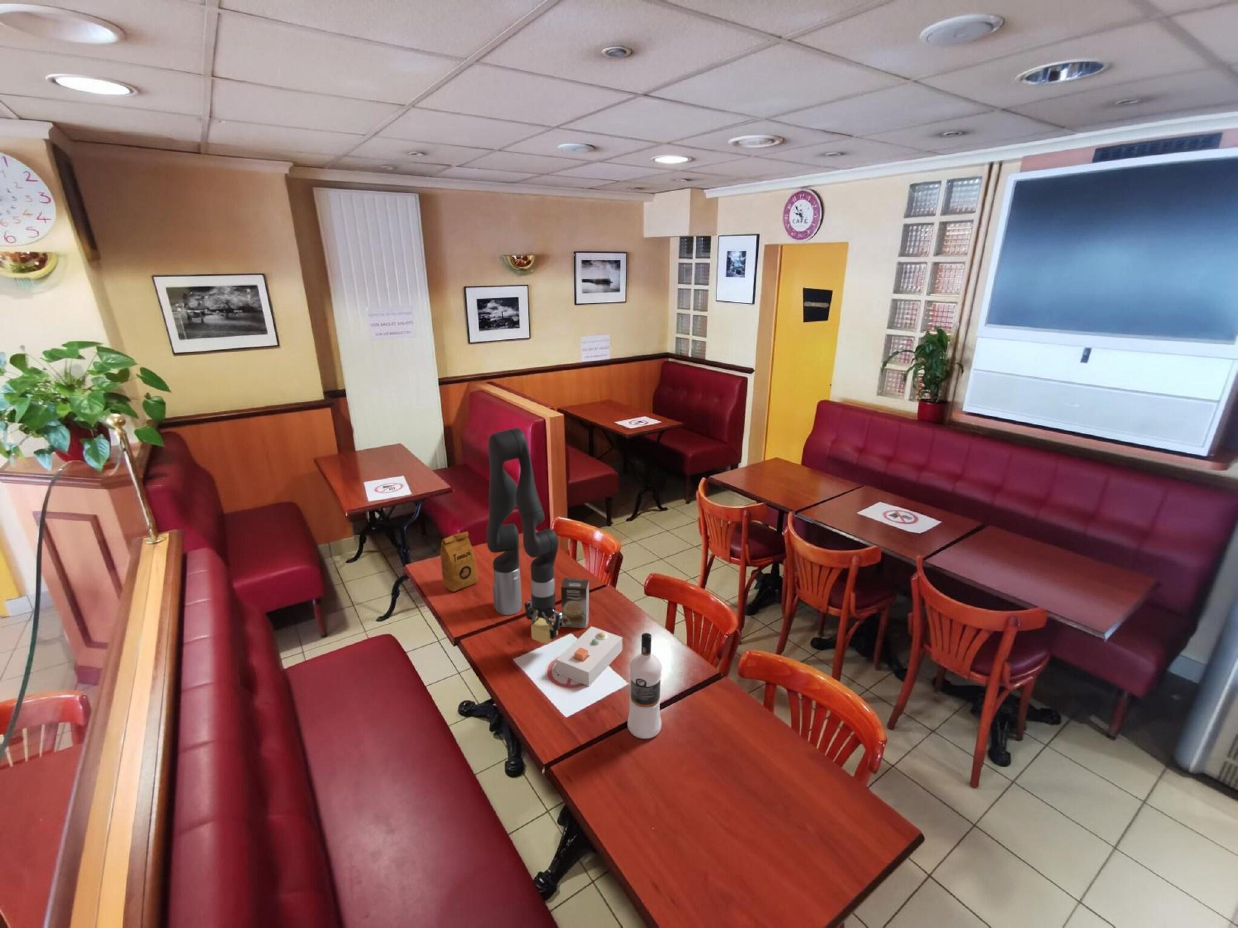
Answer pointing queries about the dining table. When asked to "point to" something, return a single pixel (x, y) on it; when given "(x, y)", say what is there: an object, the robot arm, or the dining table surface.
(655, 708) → the vodka
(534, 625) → the cap
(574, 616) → the coffee box
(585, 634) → the panel
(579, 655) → the button
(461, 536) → the coffee package
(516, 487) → the robot arm
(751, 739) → the dining table surface
